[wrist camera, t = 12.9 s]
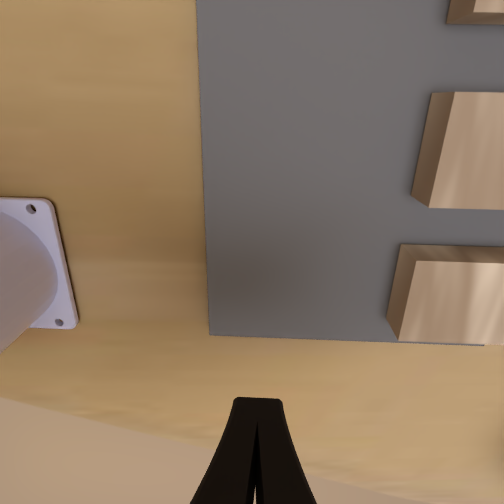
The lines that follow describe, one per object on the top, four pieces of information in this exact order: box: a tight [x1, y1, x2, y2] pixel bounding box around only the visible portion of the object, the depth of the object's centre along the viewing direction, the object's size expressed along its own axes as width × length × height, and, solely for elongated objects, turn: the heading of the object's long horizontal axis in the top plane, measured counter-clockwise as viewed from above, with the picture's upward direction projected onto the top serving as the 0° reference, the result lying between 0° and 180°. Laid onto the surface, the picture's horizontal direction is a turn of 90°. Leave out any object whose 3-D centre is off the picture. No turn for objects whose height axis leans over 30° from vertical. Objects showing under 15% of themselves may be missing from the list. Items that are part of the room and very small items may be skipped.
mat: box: [196, 0, 504, 346], centre depth 16 cm, size 16×22×1 cm
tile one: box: [386, 244, 504, 345], centre depth 18 cm, size 2×4×6 cm
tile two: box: [411, 92, 504, 210], centre depth 15 cm, size 2×4×6 cm
